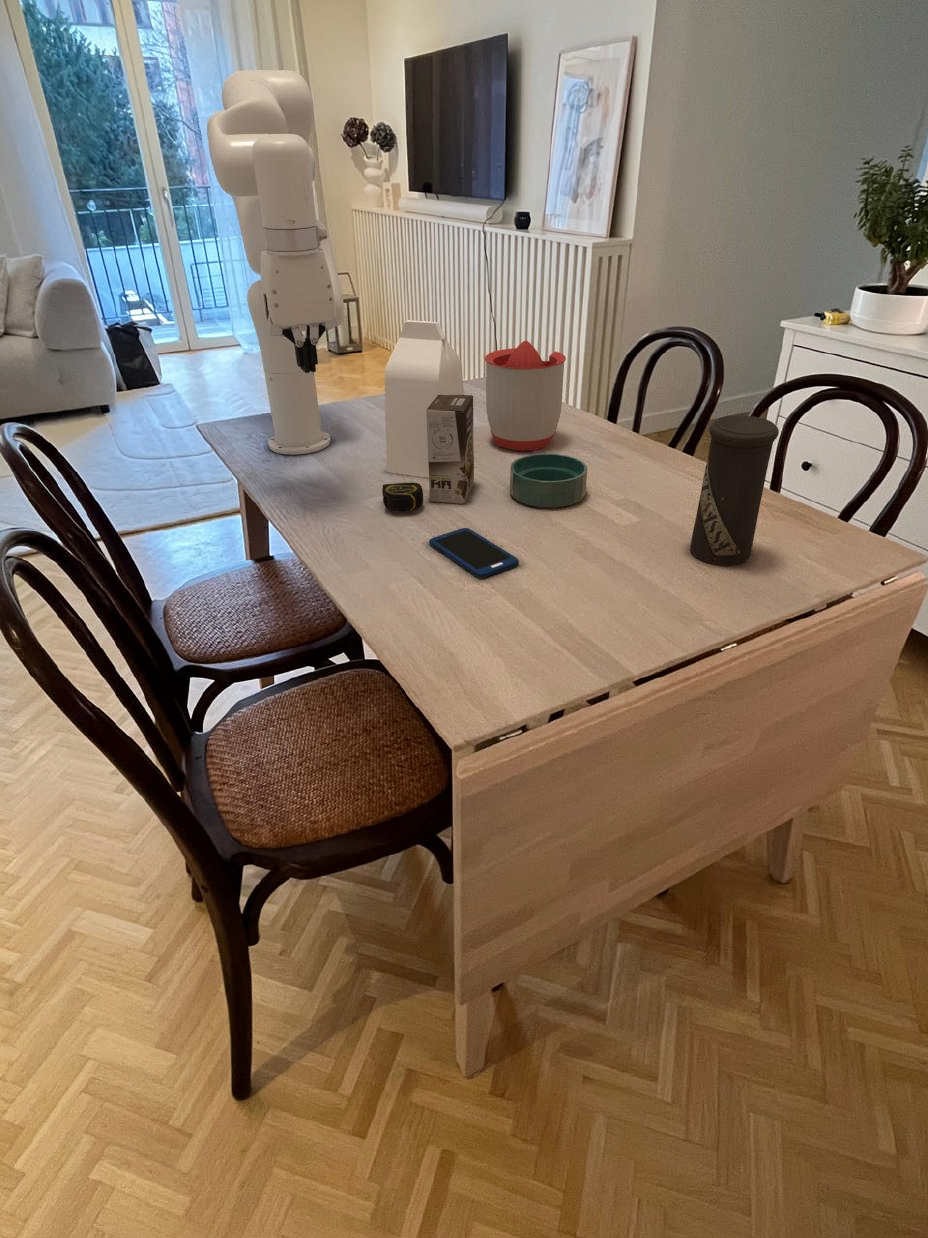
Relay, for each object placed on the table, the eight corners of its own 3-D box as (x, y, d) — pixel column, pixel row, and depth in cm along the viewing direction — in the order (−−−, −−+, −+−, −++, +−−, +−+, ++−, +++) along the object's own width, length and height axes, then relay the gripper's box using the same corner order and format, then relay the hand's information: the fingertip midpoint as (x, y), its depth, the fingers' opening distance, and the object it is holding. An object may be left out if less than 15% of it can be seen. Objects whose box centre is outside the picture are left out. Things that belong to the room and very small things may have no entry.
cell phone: (480, 579, 102) (480, 575, 102) (427, 543, 112) (426, 538, 111) (520, 564, 106) (521, 560, 105) (466, 530, 115) (466, 526, 115)
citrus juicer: (577, 434, 152) (584, 334, 141) (539, 461, 140) (543, 353, 129) (512, 423, 159) (514, 326, 148) (470, 447, 147) (469, 344, 136)
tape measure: (422, 498, 126) (421, 478, 124) (424, 515, 120) (423, 494, 118) (383, 501, 126) (381, 480, 124) (383, 517, 120) (381, 496, 118)
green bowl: (496, 489, 129) (496, 462, 126) (557, 474, 134) (558, 448, 131) (536, 516, 120) (537, 487, 117) (600, 499, 125) (602, 472, 122)
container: (680, 541, 111) (701, 411, 100) (737, 538, 112) (764, 408, 101) (700, 569, 104) (725, 432, 93) (761, 565, 104) (793, 429, 93)
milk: (387, 471, 137) (375, 326, 123) (413, 451, 146) (404, 313, 131) (445, 480, 133) (440, 330, 119) (468, 458, 142) (466, 317, 128)
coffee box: (465, 504, 124) (463, 410, 115) (428, 501, 125) (424, 408, 116) (475, 483, 131) (474, 394, 122) (440, 481, 132) (437, 392, 124)
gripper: (332, 233, 110) (344, 357, 120) (233, 241, 104) (255, 370, 115) (350, 240, 104) (361, 369, 115) (246, 248, 98) (268, 384, 109)
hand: (308, 369), depth 115 cm, fingers closed
